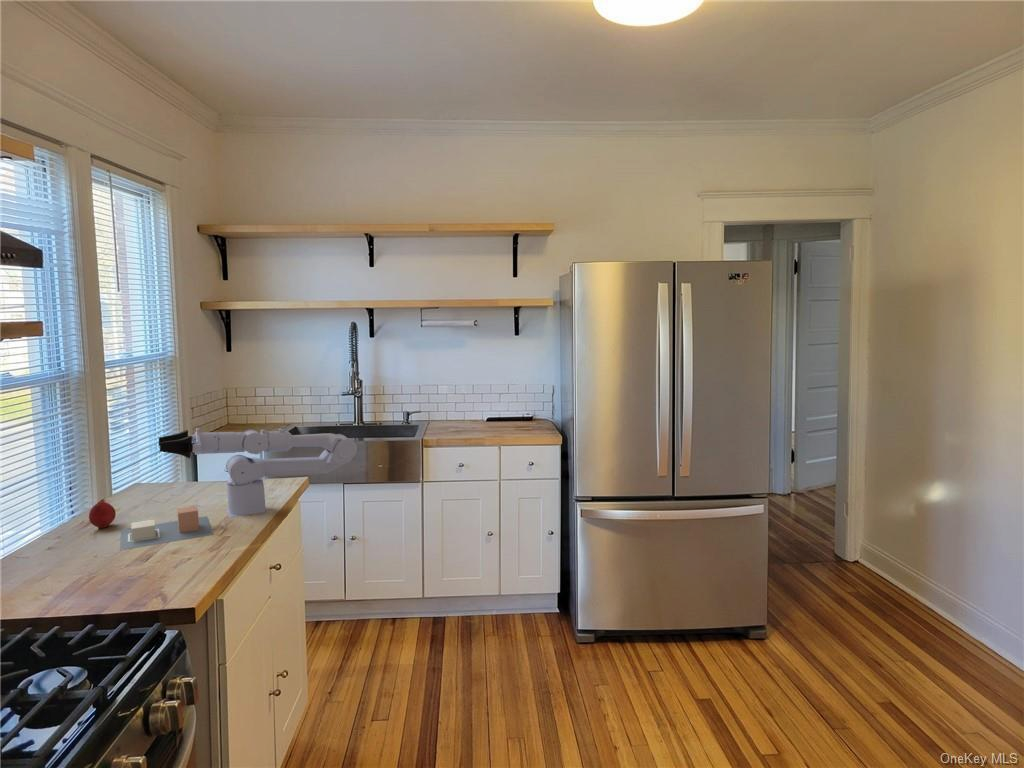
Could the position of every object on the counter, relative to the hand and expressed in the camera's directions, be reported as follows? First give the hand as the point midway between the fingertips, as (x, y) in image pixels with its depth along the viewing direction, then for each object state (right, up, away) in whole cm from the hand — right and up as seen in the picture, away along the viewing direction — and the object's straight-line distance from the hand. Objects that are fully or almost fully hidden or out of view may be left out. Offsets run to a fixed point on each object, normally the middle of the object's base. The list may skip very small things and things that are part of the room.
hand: (159, 444), depth 166 cm
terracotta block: (+8, -21, -2) cm, 23 cm away
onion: (-15, -22, 0) cm, 27 cm away
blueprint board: (+4, -22, -4) cm, 23 cm away
